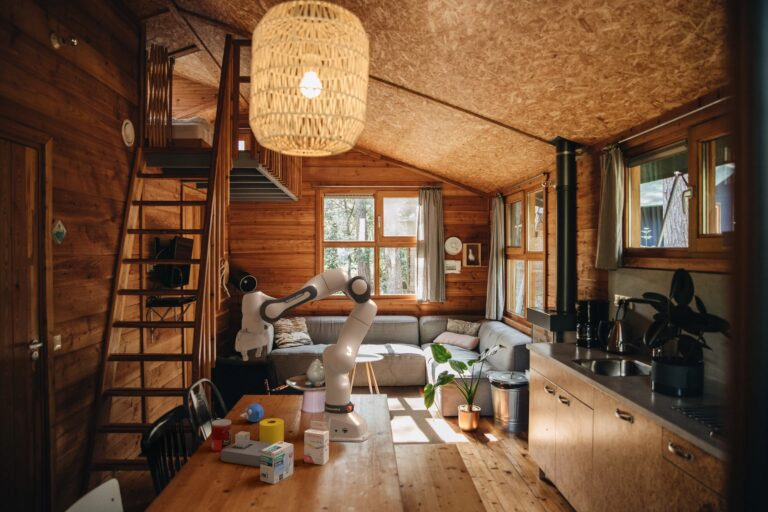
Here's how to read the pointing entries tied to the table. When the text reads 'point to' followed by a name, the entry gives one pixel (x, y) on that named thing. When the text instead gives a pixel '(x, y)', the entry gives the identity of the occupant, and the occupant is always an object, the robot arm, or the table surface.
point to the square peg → (242, 440)
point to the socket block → (245, 453)
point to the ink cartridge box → (316, 443)
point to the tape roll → (272, 430)
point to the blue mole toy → (253, 413)
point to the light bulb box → (276, 462)
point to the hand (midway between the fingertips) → (251, 358)
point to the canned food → (220, 434)
